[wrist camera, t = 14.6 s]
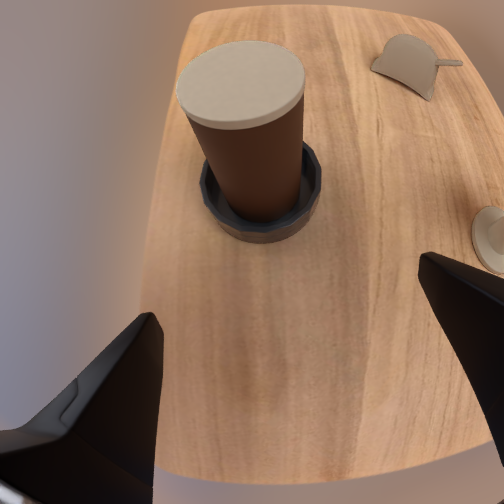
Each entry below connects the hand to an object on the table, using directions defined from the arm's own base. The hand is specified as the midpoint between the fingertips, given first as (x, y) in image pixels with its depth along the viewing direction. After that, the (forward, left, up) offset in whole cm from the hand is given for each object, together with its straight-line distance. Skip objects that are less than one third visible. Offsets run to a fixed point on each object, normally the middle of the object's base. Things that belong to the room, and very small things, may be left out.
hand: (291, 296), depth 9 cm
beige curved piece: (+18, -19, -11) cm, 28 cm away
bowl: (+9, -1, -11) cm, 14 cm away
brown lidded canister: (+9, -1, -10) cm, 14 cm away
